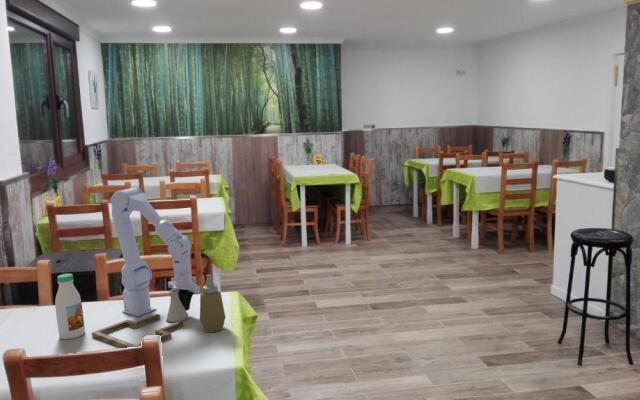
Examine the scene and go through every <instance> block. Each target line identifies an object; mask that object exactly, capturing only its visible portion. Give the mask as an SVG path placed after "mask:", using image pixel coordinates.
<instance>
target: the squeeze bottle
mask: <svg viewBox="0 0 640 400" xmlns="http://www.w3.org/2000/svg"><path fill="white" fill-rule="evenodd" d="M218 288H219V287H218V285H217V284H214V281H213V277H212V275H211V274H207V275H206V281H205V285H203V286H202V293H201V294H200V298H199V300H200V301H199V322H200V324H201V326H202V329H203V330H204V332H206V333H217V332H219V331H222V329H223V328H224V324H225V320H226V313H225V307H224V304H223V298H222V292H220V291H219V289H218Z"/></svg>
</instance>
